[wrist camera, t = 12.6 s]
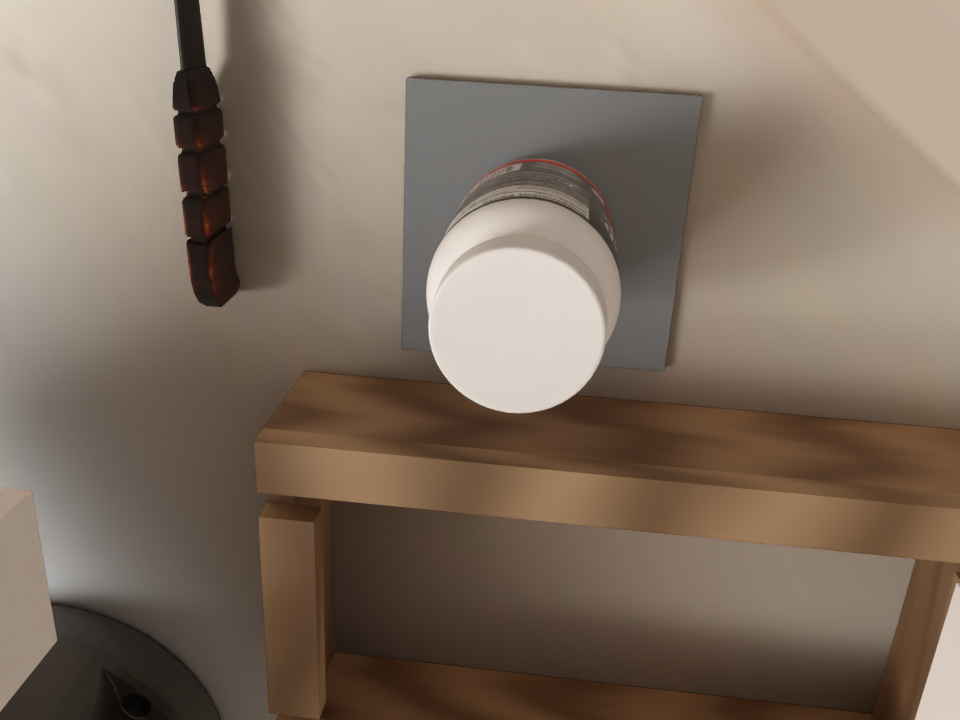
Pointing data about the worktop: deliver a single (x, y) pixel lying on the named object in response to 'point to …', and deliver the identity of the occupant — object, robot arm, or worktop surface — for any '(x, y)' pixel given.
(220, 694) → the worktop surface
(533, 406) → the pill bottle
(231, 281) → the knife
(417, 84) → the slate pad
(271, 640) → the tray
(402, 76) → the worktop surface
